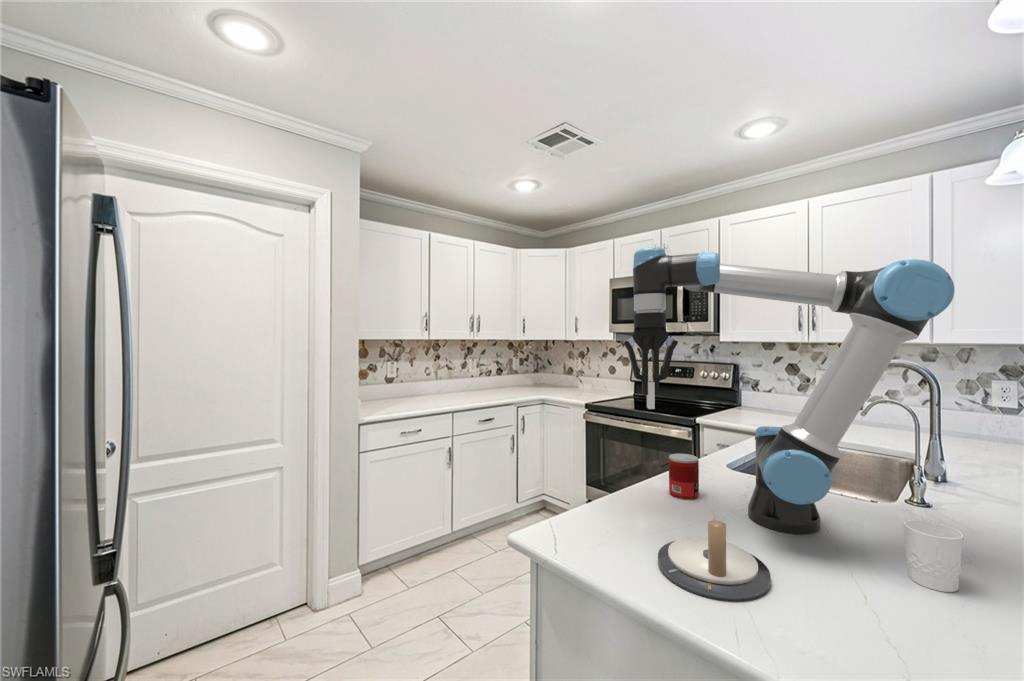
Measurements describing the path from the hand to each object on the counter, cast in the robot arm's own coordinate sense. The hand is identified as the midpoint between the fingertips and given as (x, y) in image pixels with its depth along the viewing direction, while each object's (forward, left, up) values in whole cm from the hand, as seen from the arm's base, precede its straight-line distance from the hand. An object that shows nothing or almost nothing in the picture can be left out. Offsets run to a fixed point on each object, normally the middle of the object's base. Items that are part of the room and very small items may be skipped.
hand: (650, 407), depth 107 cm
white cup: (-47, +20, -29) cm, 59 cm away
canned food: (-12, -20, -29) cm, 37 cm away
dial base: (-8, +21, -28) cm, 36 cm away
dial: (-8, +21, -27) cm, 35 cm away
